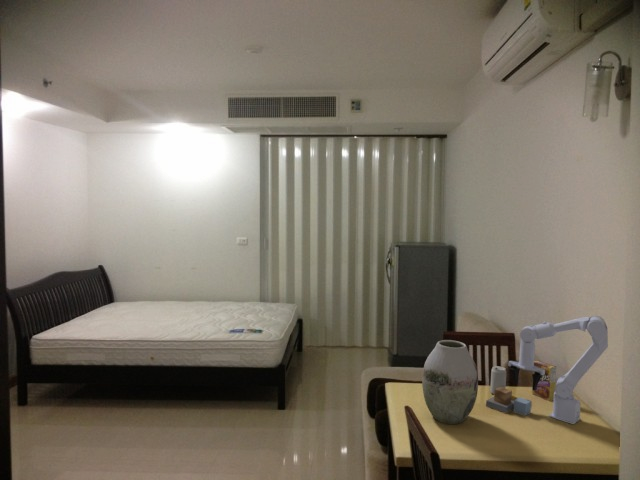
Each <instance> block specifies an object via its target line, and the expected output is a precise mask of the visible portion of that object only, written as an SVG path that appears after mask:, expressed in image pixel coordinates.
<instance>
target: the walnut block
mask: <svg viewBox="0 0 640 480" xmlns="http://www.w3.org/2000/svg"><path fill="white" fill-rule="evenodd" d="M512 396H513V390H511V389H509V388H506V387H505V388H503V387H499V388H497V389H495V392H494V394H493V397H494V401H496V402H499V403H501V404H504V405H506V404H508V403H511V400H512ZM512 401H513V400H512Z"/></svg>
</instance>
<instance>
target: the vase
mask: <svg viewBox="0 0 640 480" xmlns="http://www.w3.org/2000/svg"><path fill="white" fill-rule="evenodd" d="M421 379H422V380H421V382H422V383H421V384H422V385H421V386H422V392H423V398H424V402H425V405H426V407H427V409H428V411H429V412H430V414H431V416H432V417H433V418H434V419H435V420H436V421H438V422H439V423H442V424H447V425H448V424H449V425H457V424H458V425H459V424H461V423H463V422H464V421H465V420H466V419H467V417H469V415H470V413H471V412H472V410H473V409H474V407H475V403H476V401H477V397H478V389H479V373H478V368H477V365H476V363H475V360H474V359H473V357H472V355H471V353H470V352H469V349H468V347H467V345H466V344H465V343H464V342H461V341H457V340H452V339H443V340H439V341H437V342H436V344H435V347H434V348H433V349H432V351H431V352H430V353H429V355H428V356H427V358H426V360H425V362H424V366H423V371H422V377H421Z"/></svg>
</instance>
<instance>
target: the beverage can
mask: <svg viewBox="0 0 640 480" xmlns="http://www.w3.org/2000/svg"><path fill="white" fill-rule="evenodd" d="M506 383H507V371H506V367H503V366H498V365H494V366H492V368H491V372H490V391H489V392H490V393H491V394H492V395H494V392H495V389H497V388H499V387H503V388H506V385H507V384H506Z"/></svg>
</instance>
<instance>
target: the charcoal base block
mask: <svg viewBox="0 0 640 480" xmlns="http://www.w3.org/2000/svg"><path fill="white" fill-rule="evenodd" d="M485 407H486V408H491V409H492V410H495V411H498V412H501V413H504V414H508V413H509V412H513V411H514V400H511V403H508V404H506V405H504V404H501V403H499V402H496V401H494V396H492V397H490V398H488V399H486V402H485Z"/></svg>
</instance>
